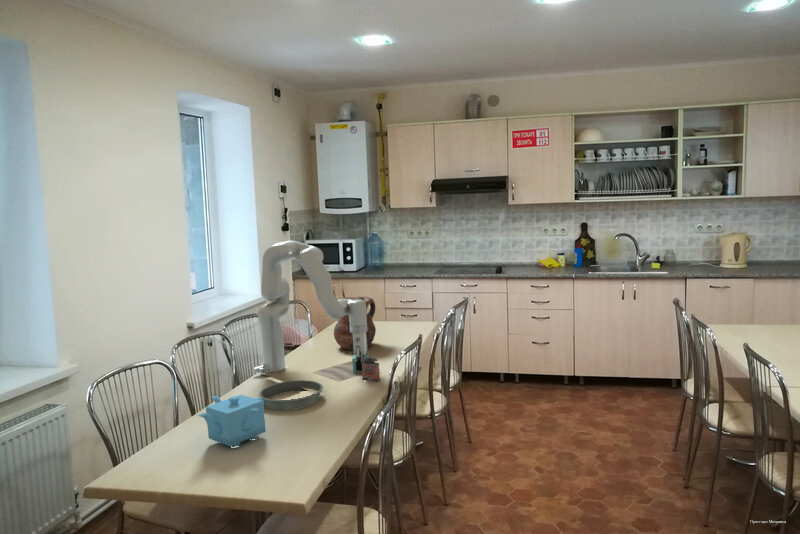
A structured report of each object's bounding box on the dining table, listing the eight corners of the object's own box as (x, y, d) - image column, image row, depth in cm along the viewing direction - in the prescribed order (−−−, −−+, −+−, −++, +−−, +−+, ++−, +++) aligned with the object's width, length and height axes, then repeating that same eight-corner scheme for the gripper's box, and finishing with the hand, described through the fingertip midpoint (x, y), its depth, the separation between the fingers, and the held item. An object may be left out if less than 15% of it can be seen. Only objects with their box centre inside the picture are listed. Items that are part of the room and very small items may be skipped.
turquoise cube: (352, 372, 265) (352, 358, 265) (354, 367, 272) (354, 354, 271) (367, 371, 265) (366, 358, 264) (369, 367, 271) (368, 354, 270)
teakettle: (268, 427, 212) (265, 386, 210) (262, 449, 194) (258, 404, 192) (212, 432, 210) (208, 391, 208) (201, 455, 192) (196, 410, 190)
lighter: (361, 380, 258) (359, 357, 257) (365, 378, 261) (363, 355, 260) (377, 382, 254) (376, 359, 253) (381, 380, 257) (380, 356, 256)
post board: (339, 384, 254) (338, 370, 253) (312, 375, 269) (311, 362, 268) (380, 372, 268) (379, 358, 268) (352, 364, 283) (351, 351, 282)
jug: (357, 354, 299) (353, 304, 296) (325, 349, 311) (322, 301, 308) (385, 344, 316) (382, 296, 313) (354, 339, 329) (351, 293, 326)
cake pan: (333, 391, 247) (332, 380, 246) (308, 413, 224) (307, 401, 223) (277, 389, 254) (276, 378, 253) (248, 410, 230) (246, 399, 230)
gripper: (364, 332, 257) (367, 373, 259) (369, 323, 274) (371, 361, 277) (347, 333, 258) (349, 374, 260) (352, 323, 275) (355, 362, 277)
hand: (361, 367), depth 268 cm, fingers open, 7 cm apart
